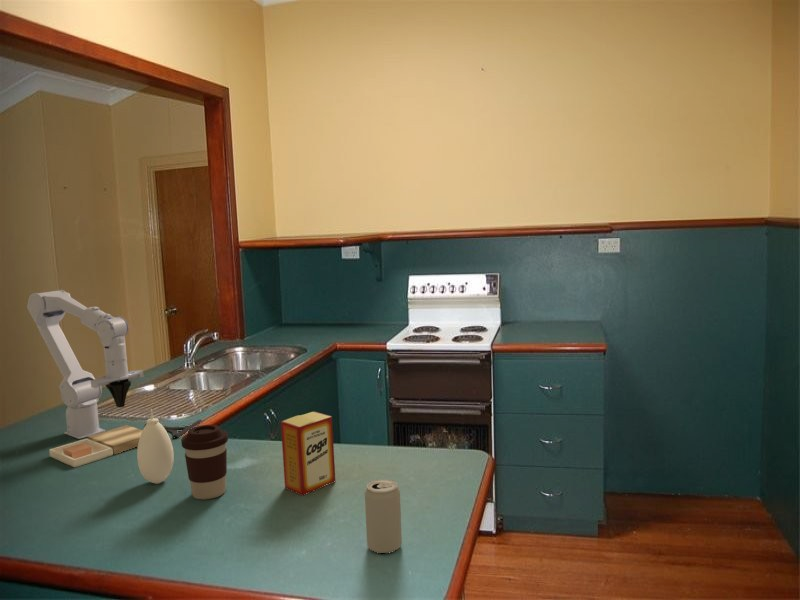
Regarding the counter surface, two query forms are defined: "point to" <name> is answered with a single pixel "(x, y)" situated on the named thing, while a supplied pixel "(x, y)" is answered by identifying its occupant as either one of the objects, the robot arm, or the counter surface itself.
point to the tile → (77, 451)
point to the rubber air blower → (155, 452)
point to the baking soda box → (308, 452)
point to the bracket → (184, 429)
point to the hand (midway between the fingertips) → (120, 406)
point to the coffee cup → (206, 460)
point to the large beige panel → (119, 438)
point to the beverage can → (383, 516)
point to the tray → (97, 453)
